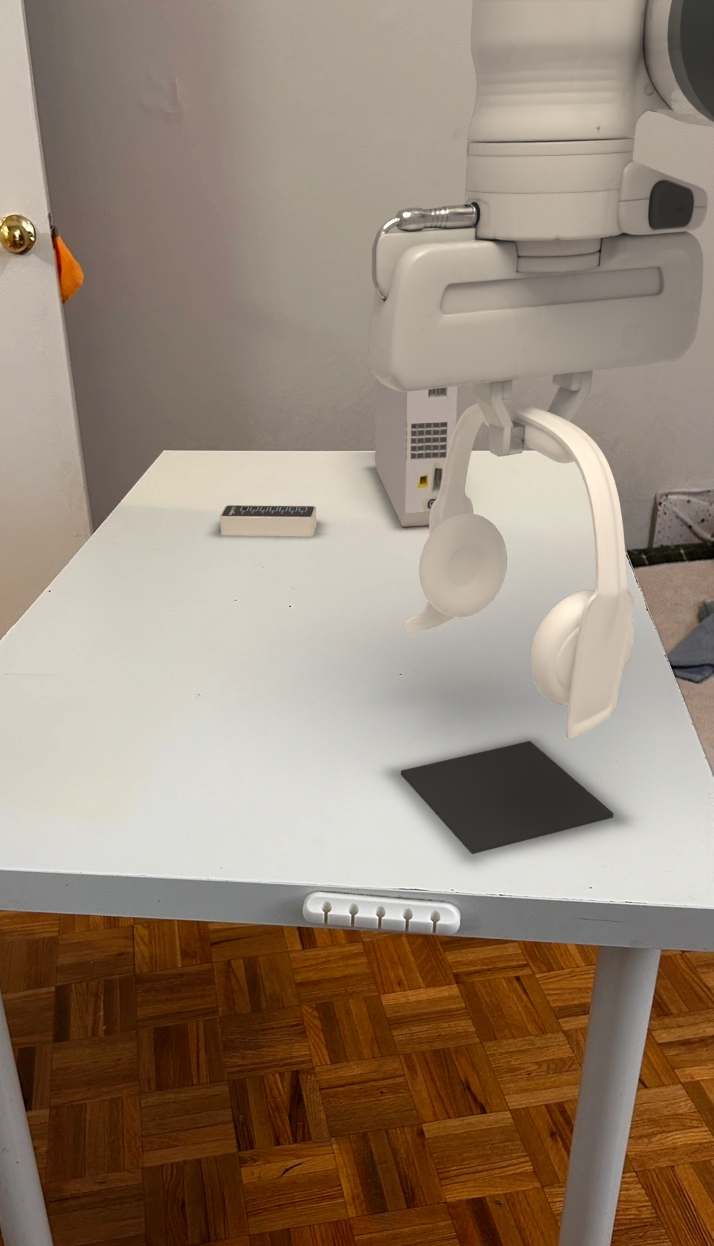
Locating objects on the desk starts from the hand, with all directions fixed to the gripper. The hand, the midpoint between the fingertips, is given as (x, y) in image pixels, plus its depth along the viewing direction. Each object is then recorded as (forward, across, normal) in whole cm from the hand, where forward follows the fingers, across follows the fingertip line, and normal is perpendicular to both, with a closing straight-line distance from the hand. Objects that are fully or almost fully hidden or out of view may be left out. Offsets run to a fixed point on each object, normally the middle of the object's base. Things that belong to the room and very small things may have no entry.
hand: (528, 450), depth 67 cm
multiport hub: (+25, +4, +62) cm, 67 cm away
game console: (+25, +24, +66) cm, 75 cm away
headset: (+15, 0, 0) cm, 15 cm away
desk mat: (+25, 0, 0) cm, 25 cm away
